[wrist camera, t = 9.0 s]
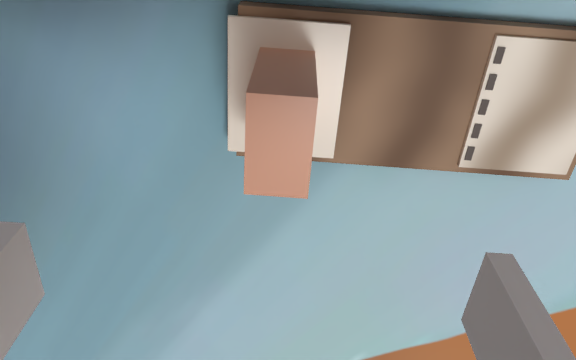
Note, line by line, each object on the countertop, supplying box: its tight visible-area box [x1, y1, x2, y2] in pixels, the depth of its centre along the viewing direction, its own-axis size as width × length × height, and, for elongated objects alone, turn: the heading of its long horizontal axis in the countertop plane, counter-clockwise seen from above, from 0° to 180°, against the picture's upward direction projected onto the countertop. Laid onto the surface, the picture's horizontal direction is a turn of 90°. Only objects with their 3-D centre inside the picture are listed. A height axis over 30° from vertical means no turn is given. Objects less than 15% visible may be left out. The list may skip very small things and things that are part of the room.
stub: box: [228, 15, 351, 199], centre depth 24 cm, size 6×8×7 cm
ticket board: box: [237, 1, 576, 180], centre depth 27 cm, size 21×9×2 cm, turn 86°
